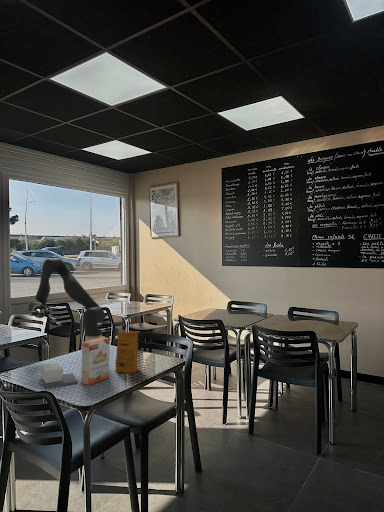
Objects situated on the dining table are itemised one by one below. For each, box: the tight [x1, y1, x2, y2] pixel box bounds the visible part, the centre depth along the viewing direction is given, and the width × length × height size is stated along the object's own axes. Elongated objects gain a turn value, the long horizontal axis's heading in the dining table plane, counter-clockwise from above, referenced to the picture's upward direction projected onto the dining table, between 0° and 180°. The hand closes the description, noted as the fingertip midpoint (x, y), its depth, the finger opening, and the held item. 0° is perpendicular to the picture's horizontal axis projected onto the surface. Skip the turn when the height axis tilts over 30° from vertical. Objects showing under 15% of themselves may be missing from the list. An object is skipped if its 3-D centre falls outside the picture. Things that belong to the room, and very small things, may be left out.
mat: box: [41, 372, 78, 389], centre depth 184 cm, size 15×14×1 cm
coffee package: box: [115, 330, 139, 374], centre depth 201 cm, size 10×12×22 cm
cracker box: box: [80, 336, 111, 386], centre depth 185 cm, size 14×6×21 cm, turn 148°
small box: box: [40, 362, 64, 383], centre depth 184 cm, size 8×6×13 cm
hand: (42, 314), depth 203 cm, fingers closed
